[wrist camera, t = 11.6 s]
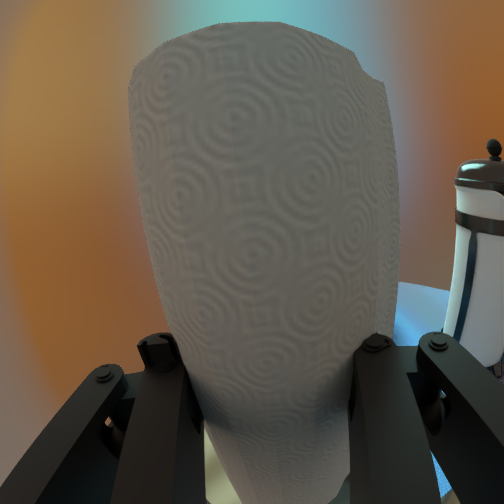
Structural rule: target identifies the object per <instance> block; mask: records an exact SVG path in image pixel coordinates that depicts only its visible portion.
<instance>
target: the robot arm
mask: <svg viewBox="0 0 504 504" xmlns="http://www.w3.org/2000/svg"><path fill="white" fill-rule="evenodd" d="M137 347H138V350H139V352H140V355H141V358H142V360H143V362H144V365H145V369H144V371H142V372H138V373H132V374H124V372H123V370H122V368H121V367H120V366H119V365H116V364H105V365H102V366H100V367H98V368H96V369H94V370H93V371H92V372H91V373H90V374H89V375H88V376H87V378H86V379H85V380H84V381H83V382H82V383H81V385H80V386H79V387H78V388H77V389H76V391H75V392H74V393H73V394H72V395H71V397H70V398H69V399H68V400H67V401H66V402H65V404H64V405H63V406H62V407H61V409H60V410H59V411H58V412H57V413H56V415H55V416H54V417H53V418H52V420H51V421H50V422H49V423H48V424H47V426H46V427H45V428H44V429H43V431H42V432H41V433H40V435H39V436H38V437H37V438H36V440H35V441H34V442H33V444H32V445H31V446H30V447H29V449H28V450H27V451H26V453H25V454H24V455H23V457H22V458H21V459H20V461H19V462H18V463H17V465H16V466H15V467H14V469H13V470H12V472H11V473H10V474H9V476H8V477H7V479H6V480H5V481H4V483H3V484H2V486H1V487H0V504H206V486H205V452H204V417H203V414H202V412H201V410H200V407H199V404H198V402H197V399H196V396H195V394H194V391H193V388H192V385H191V383H190V380H189V378H188V374H187V371H186V368H185V365H184V363H183V360H182V357H181V354H180V351H179V348H178V345H177V342H176V340H175V338H174V337H173V335H172V334H171V333H157V334H152V335H150V336H147V337H145V338H144V339H142V340H141V341H140V342H139V344H138V345H137ZM442 391H443V392H444V394H445V395H446V396H445V395H444V394H443V393H442ZM347 415H348V431H349V453H350V504H441V498H440V492H439V487H438V481H437V476H436V472H435V467H434V463H433V459H432V455H431V452H432V453H433V455H434V457H435V459H436V460H437V462H438V464H439V466H440V467H441V469H442V471H443V473H444V474H445V476H446V478H447V480H448V482H449V483H450V485H451V487H452V489H453V491H454V493H455V494H456V496H457V498H458V500H459V502H460V504H504V385H503V384H502V383H501V382H500V381H499V380H498V379H497V378H496V377H495V376H494V375H493V374H492V373H491V372H490V371H489V370H488V369H487V368H486V367H485V366H483V365H482V364H481V363H480V362H479V361H478V360H477V359H476V358H475V357H474V356H473V355H472V354H471V353H470V352H469V351H467V350H466V349H465V348H464V347H463V346H462V345H461V344H460V343H459V342H457V341H456V340H455V339H454V338H453V337H451V336H450V335H448V334H446V333H442V332H430V333H427V334H425V335H423V336H422V337H421V338H420V340H419V344H418V346H396V345H395V343H394V342H393V340H392V339H391V338H389V337H387V336H386V335H382V334H378V333H377V332H376V334H372V335H371V336H370V337H369V338H367V339H365V340H364V341H363V343H362V345H361V346H360V347H359V348H358V349H356V350H355V351H354V358H353V375H352V383H351V391H350V399H349V400H348V406H347ZM108 416H109V418H110V419H111V423H110V424H109V425H108V426H107V425H106V424H105V423H104V422H105V421H106V419H107V418H108ZM430 450H431V451H430Z"/></svg>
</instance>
